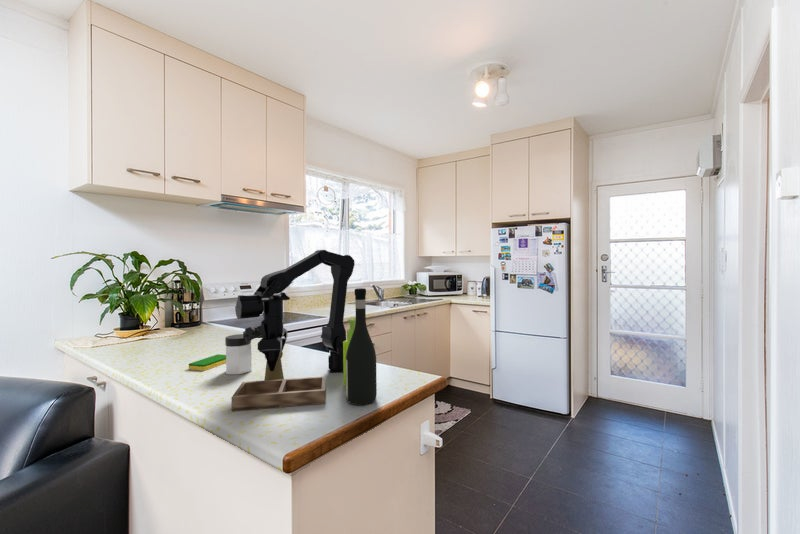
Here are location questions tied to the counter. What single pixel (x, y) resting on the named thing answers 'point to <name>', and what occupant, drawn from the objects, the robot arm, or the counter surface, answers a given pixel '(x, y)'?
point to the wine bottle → (361, 358)
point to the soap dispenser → (347, 344)
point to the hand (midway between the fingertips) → (274, 366)
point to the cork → (275, 370)
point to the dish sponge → (208, 362)
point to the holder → (279, 393)
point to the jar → (238, 354)
